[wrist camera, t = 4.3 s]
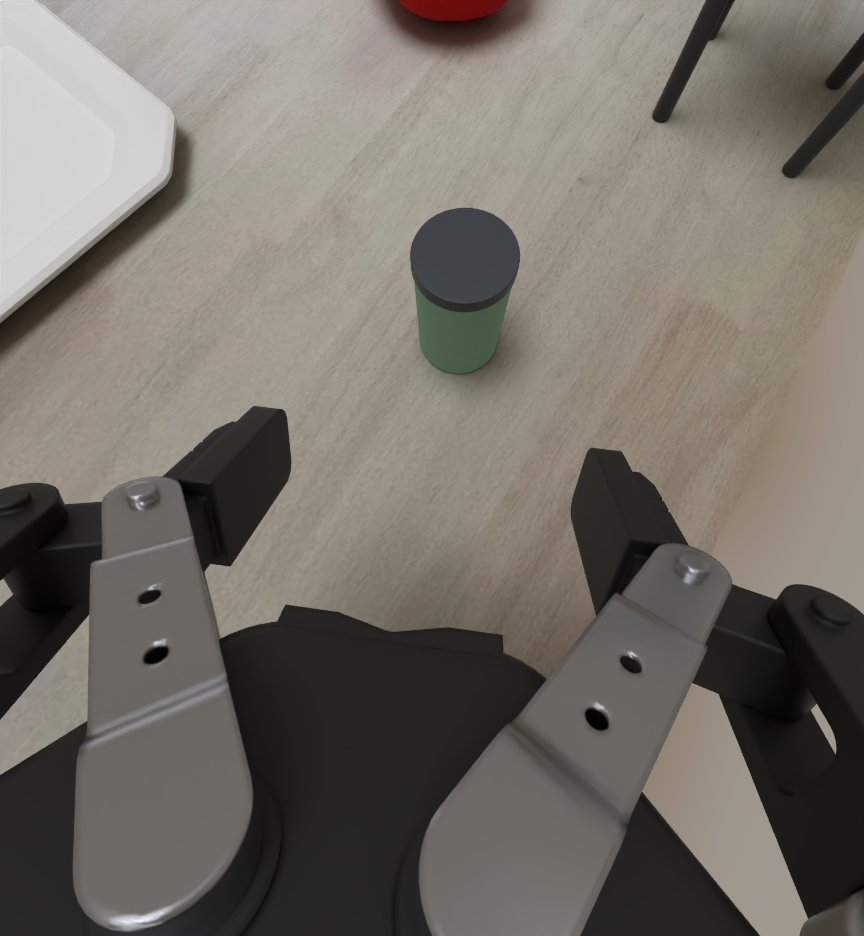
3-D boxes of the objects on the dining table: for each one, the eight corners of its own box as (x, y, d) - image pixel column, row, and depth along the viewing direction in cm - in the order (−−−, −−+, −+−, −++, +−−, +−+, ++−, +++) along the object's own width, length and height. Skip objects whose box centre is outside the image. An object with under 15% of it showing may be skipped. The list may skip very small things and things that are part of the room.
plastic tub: (512, 324, 29) (539, 235, 21) (474, 389, 28) (487, 322, 20) (443, 289, 30) (444, 190, 22) (403, 352, 29) (389, 272, 21)
